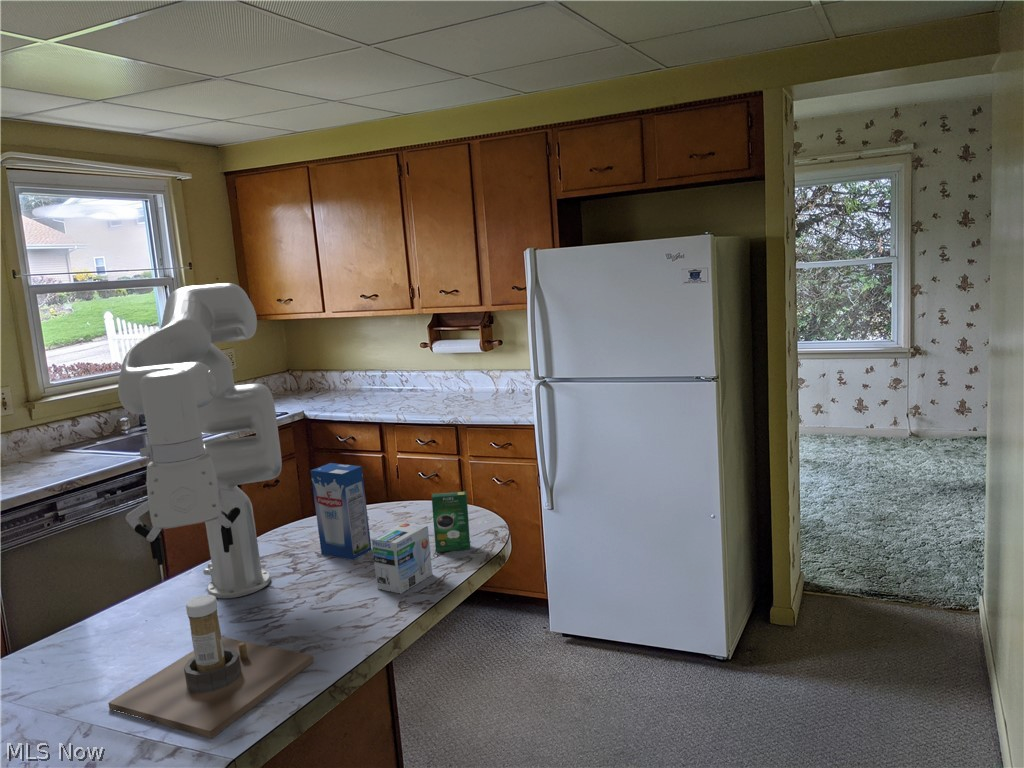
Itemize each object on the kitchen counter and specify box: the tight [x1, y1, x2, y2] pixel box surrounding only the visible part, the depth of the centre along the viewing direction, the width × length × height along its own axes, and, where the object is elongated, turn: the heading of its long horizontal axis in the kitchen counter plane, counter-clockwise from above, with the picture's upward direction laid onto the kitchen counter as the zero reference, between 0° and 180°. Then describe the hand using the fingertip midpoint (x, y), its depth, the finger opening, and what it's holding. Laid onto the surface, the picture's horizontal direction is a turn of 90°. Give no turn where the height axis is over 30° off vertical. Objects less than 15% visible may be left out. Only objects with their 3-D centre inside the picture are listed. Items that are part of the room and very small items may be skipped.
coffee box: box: [431, 490, 471, 553], centre depth 175 cm, size 8×3×13 cm, turn 94°
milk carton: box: [310, 462, 373, 561], centre depth 178 cm, size 10×6×20 cm, turn 58°
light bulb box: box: [370, 521, 433, 595], centre depth 159 cm, size 11×7×11 cm, turn 148°
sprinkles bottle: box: [185, 594, 226, 672], centre depth 125 cm, size 5×5×13 cm
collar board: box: [108, 636, 314, 739], centre depth 126 cm, size 22×22×4 cm
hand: (194, 555), depth 122 cm, fingers open, 9 cm apart
